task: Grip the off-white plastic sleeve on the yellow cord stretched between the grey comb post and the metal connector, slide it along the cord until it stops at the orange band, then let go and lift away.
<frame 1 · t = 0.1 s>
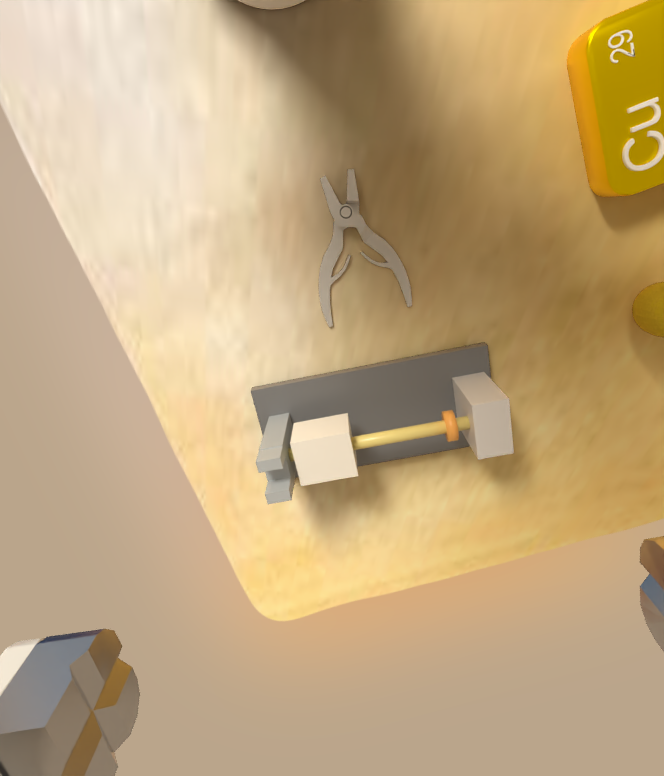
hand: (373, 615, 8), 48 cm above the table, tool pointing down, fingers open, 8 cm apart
lemon: (642, 302, 54), on the table
pliers: (353, 247, 52), on the table
element tile: (652, 97, 48), on the table
cord rig: (375, 412, 58), on the table
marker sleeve: (324, 448, 52), point 7 cm above the table, slide at 0.0 cm
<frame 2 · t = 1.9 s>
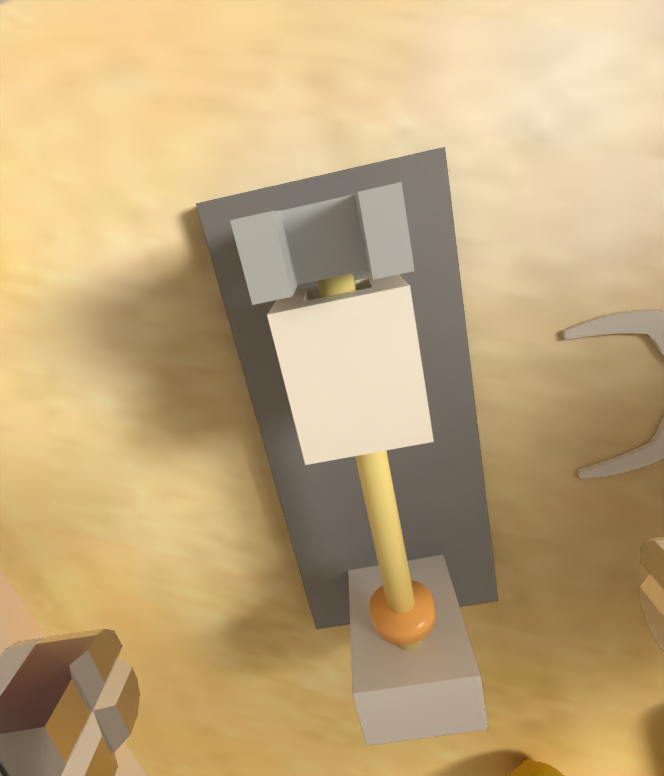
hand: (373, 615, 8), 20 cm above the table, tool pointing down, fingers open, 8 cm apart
lemon: (525, 757, 39), on the table
cord rig: (367, 422, 29), on the table
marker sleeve: (352, 361, 20), point 7 cm above the table, slide at 0.0 cm
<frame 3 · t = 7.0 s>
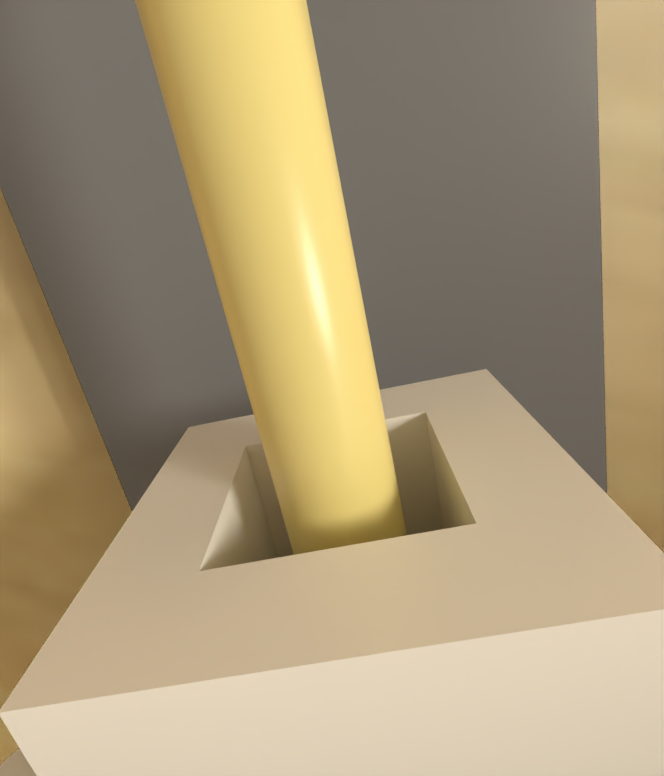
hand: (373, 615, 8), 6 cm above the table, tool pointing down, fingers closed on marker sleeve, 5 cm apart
cord rig: (332, 326, 12), on the table
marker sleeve: (379, 664, 7), point 7 cm above the table, slide at 9.2 cm, touching gripper
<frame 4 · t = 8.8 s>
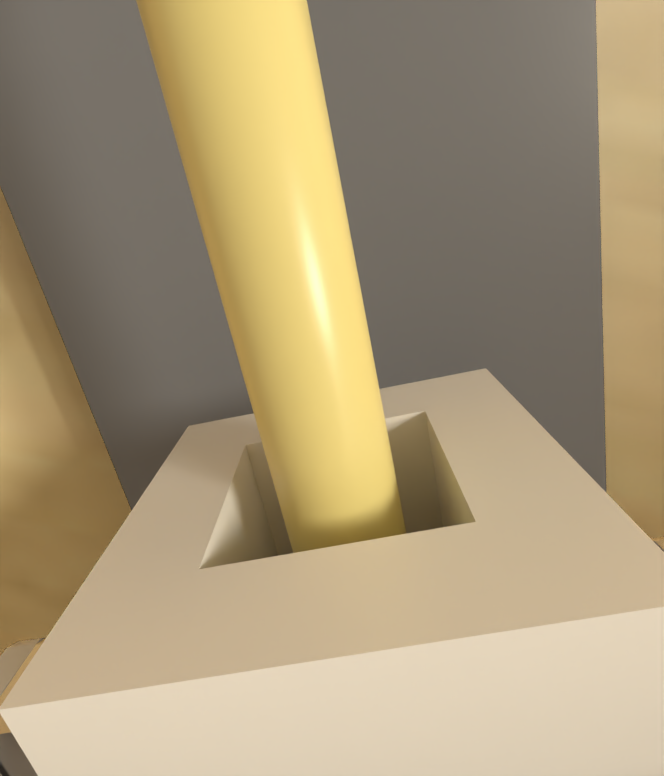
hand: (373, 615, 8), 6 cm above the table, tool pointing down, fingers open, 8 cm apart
cord rig: (331, 324, 12), on the table
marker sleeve: (378, 663, 7), point 7 cm above the table, slide at 9.2 cm
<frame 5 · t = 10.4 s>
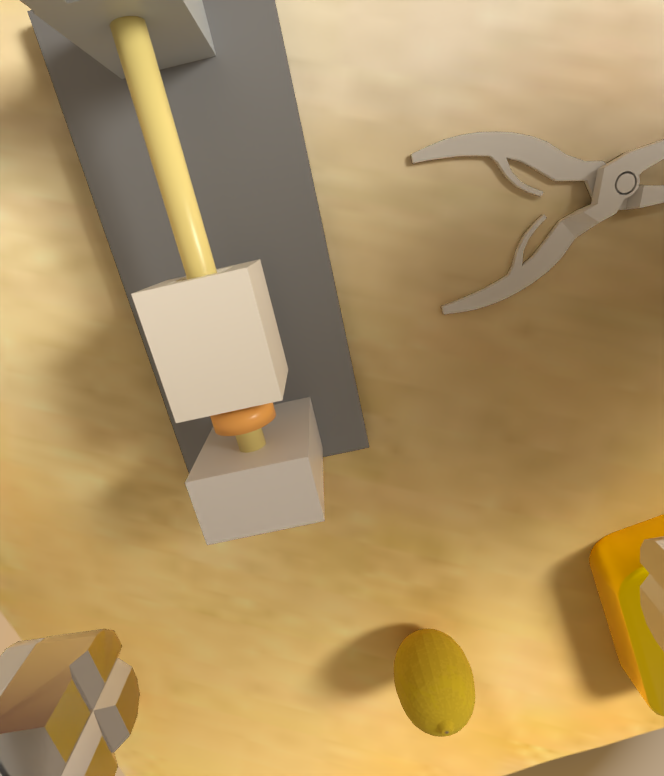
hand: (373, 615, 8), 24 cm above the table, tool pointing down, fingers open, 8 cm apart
lemon: (421, 631, 39), on the table
pliers: (547, 202, 29), on the table
cord rig: (226, 259, 29), on the table
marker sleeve: (220, 336, 24), point 7 cm above the table, slide at 9.2 cm
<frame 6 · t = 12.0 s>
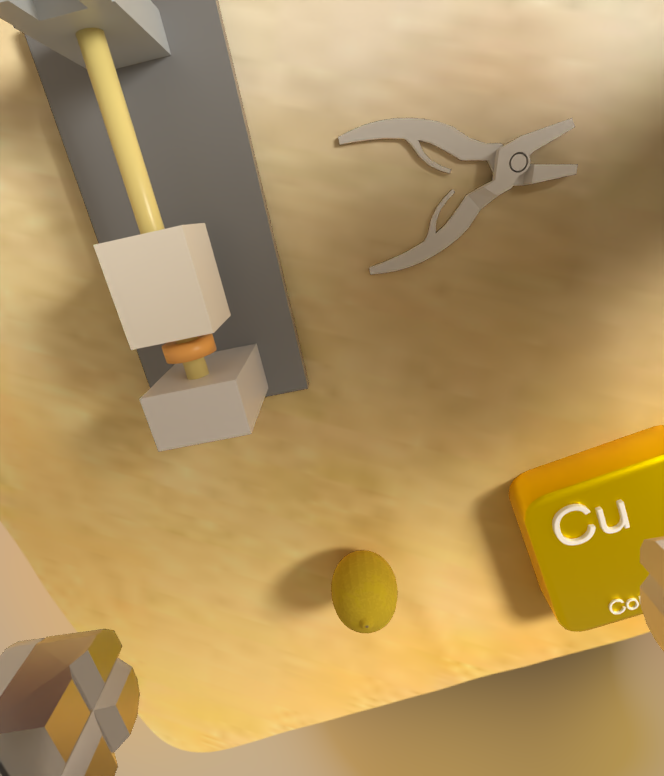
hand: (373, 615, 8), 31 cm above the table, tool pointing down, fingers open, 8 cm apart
lemon: (361, 556, 45), on the table
pliers: (457, 179, 35), on the table
element tile: (604, 515, 44), on the table
cord rig: (185, 225, 35), on the table
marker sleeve: (169, 283, 30), point 7 cm above the table, slide at 9.2 cm
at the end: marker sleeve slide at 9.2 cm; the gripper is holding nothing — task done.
